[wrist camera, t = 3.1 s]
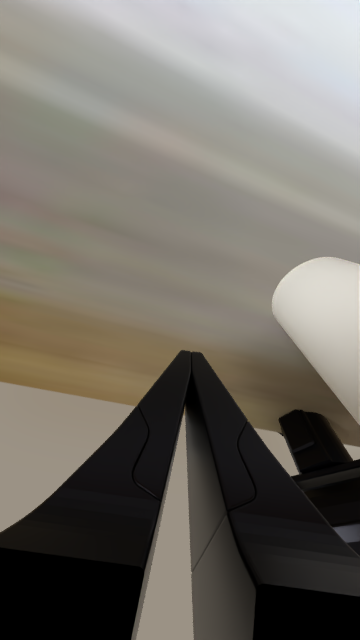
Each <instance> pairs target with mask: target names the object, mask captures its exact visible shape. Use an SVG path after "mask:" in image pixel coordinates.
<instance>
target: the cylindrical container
mask: <svg viewBox="0 0 360 640" xmlns="http://www.w3.org/2000/svg"><path fill="white" fill-rule="evenodd" d="M272 311H273V314H274V317H275V318H276V320H277V321H278V323H279V324H280V325H281V327H282V328H283V329H284V330H285V332H286V333H287V334H288V335H289V337H290V338H291V339H292V340H293V342H294V343H295V344H296V346H297V347H298V348H299V349H300V351H301V352H302V353H303V354H304V356H305V357H306V358H307V360H308V361H309V362H310V363H311V365H312V366H313V367H314V368H315V370H316V371H317V372H318V373H319V375H320V376H321V377H322V379H323V380H324V381H325V382H326V384H327V385H328V386H329V387H330V389H331V390H332V391H333V392H334V394H335V395H336V396H337V398H338V399H339V400H340V401H341V403H342V404H343V405H344V406H345V408H346V409H347V410H348V411H349V413H350V414H351V415H352V417H353V418H354V419H355V420H356V422H357V423H358V424H359V425H360V264H357V263H353V262H350V261H347V260H343V259H340V258H334V257H320V258H316V259H312V260H309V261H307V262H304V263H302V264H300V265H299V266H297V267H295V268H294V269H292V270H291V271H290V272H289V273H288V274H287V275H286V276H285V277H284V278H283V279H282V280H281V281H280V283H279V285H278V286H277V288H276V290H275V293H274V295H273V300H272Z"/></svg>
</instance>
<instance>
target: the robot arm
mask: <svg viewBox="0 0 360 640" xmlns="http://www.w3.org/2000/svg"><path fill="white" fill-rule="evenodd" d="M184 408H185V420H186V445H187V472H188V498H189V524H190V550H191V571H192V577H191V578H192V602H193V627H194V640H360V459H359V460H354V461H353V459H352V458H351V456H350V455H349V453H348V452H347V450H346V449H345V447H344V445H343V444H342V442H341V441H340V439H339V438H338V436H337V435H336V433H335V432H334V430H333V429H332V427H331V425H330V424H329V422H328V421H327V419H326V418H325V417H324V416H322V415H321V414H318V413H313V412H304V411H303V410H299V411H298V410H294V411H292V412H290V413H288V414H286V415H284V416H282V417H280V418H279V423H280V425H281V430H282V433H279V432H277V433H279V434H280V435H282V436H283V437H284V438H285V440H286V443H287V445H288V448H289V450H290V453H291V455H292V457H293V460H294V462H295V465H296V467H297V470H298V472H299V475H295V476H291V477H290V475H289V474H288V473H287V472H286V470H285V469H284V468H283V467H282V465H281V464H280V463H279V462H278V460H277V459H276V458H275V457H274V455H273V454H272V453H271V452H270V450H269V449H268V448H267V446H266V445H265V444H264V442H263V441H262V439H261V438H260V437H259V435H258V434H257V432H256V431H255V430H254V428H253V427H252V425H251V424H250V422H247V421H248V420H247V418H246V417H245V415H244V414H243V412H242V411H241V409H240V408H239V407H238V405H237V404H236V402H235V401H234V399H233V398H232V396H231V395H230V393H229V392H228V391H227V389H226V388H225V386H224V385H223V383H222V382H221V380H220V379H219V378H218V376H217V375H216V373H215V372H214V370H213V369H212V367H211V366H210V364H209V363H208V362H207V360H206V359H205V357H204V356H203V354H202V353H200V352H190V351H185V350H181V351H180V352H179V353H178V355H177V356H176V357H175V358H174V360H173V361H172V362H171V363H170V365H169V366H168V367H167V368H166V370H165V371H164V372H163V373H162V375H161V376H160V377H159V378H158V380H157V381H156V382H155V383H154V385H153V386H152V387H151V388H150V390H149V391H148V392H147V393H146V395H145V396H144V397H143V398H142V400H141V401H140V402H139V403H138V405H137V406H136V407H135V408H134V410H133V411H132V412H131V413H130V415H129V416H128V417H127V418H126V419H125V420H124V422H123V423H122V424H121V425H120V426H119V427H118V429H117V430H116V431H115V432H114V433H113V434H112V435H111V436H110V437H109V438H108V439H107V440H106V441H105V442H104V443H103V444H102V445H101V446H100V447H99V448H98V449H97V450H96V451H95V452H94V453H93V454H92V455H91V456H90V457H89V458H88V459H87V460H86V461H85V462H84V463H83V464H82V465H81V466H80V467H79V468H78V469H77V470H76V471H75V472H74V473H73V474H72V475H71V476H70V477H69V478H68V479H67V480H66V481H65V482H64V483H63V484H62V485H61V486H60V487H59V488H58V489H57V490H56V491H55V492H54V493H53V494H52V495H51V496H50V497H49V498H47V499H46V500H45V501H44V502H43V503H42V504H41V505H39V506H38V507H37V508H36V509H34V510H33V511H32V512H31V513H29V514H28V515H26V516H25V517H24V518H22V519H21V520H19V521H18V522H16V523H15V524H13V525H12V526H10V527H8V528H7V529H5V530H4V531H2V532H0V640H136V636H137V631H138V627H139V622H140V617H141V613H142V608H143V603H144V598H145V593H146V589H147V583H148V579H149V574H150V570H151V565H152V560H153V555H154V550H155V546H156V541H157V536H158V532H159V527H160V522H161V517H162V512H163V508H164V503H165V498H166V494H167V489H168V484H169V479H170V475H171V470H172V465H173V460H174V456H175V451H176V446H177V441H178V437H179V432H180V427H181V422H182V417H183V413H184Z"/></svg>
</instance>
